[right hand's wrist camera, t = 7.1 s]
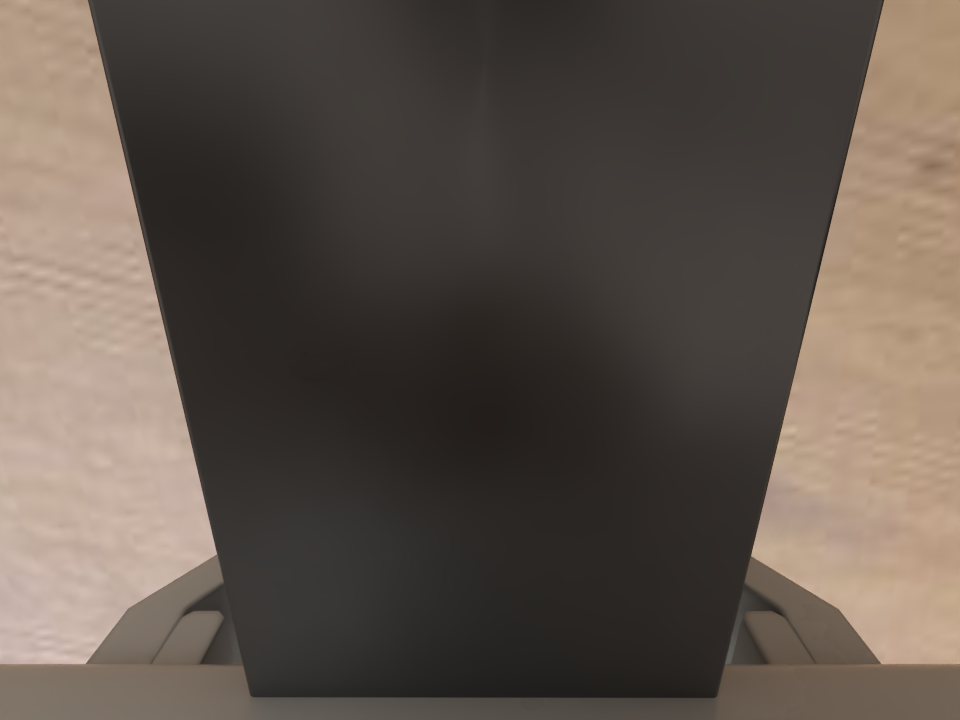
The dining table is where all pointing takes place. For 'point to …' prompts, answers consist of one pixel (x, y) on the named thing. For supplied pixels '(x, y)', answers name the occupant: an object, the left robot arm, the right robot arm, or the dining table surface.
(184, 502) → the dining table surface
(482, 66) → the bar
